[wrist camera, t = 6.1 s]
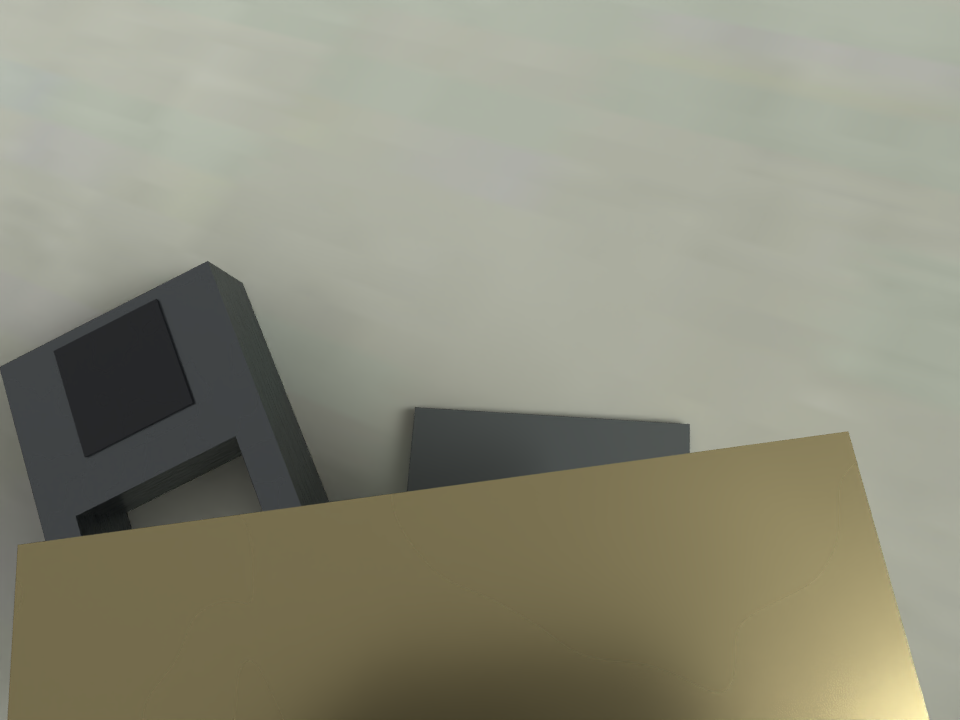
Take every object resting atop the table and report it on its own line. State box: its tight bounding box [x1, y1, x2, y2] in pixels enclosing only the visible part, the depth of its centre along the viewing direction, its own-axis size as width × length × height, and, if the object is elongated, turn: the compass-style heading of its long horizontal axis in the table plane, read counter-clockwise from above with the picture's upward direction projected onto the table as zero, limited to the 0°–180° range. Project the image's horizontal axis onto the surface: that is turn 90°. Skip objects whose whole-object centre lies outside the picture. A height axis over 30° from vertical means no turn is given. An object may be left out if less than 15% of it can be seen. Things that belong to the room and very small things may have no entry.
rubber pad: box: [407, 407, 690, 492], centre depth 20 cm, size 10×10×1 cm
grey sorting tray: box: [0, 261, 329, 541], centre depth 21 cm, size 14×9×3 cm, turn 26°
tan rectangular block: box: [8, 432, 929, 720], centre depth 10 cm, size 5×5×15 cm
